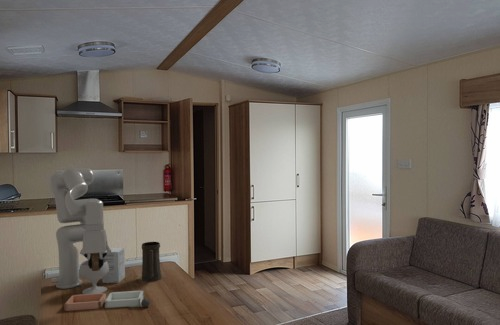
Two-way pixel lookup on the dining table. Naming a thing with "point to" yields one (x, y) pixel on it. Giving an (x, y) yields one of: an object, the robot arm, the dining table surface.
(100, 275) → the chalice
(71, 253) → the robot arm
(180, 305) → the dining table surface
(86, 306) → the terracotta tub
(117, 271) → the supplement box
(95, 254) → the walnut peg
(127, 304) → the grey tub
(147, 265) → the beer stein
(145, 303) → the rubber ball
